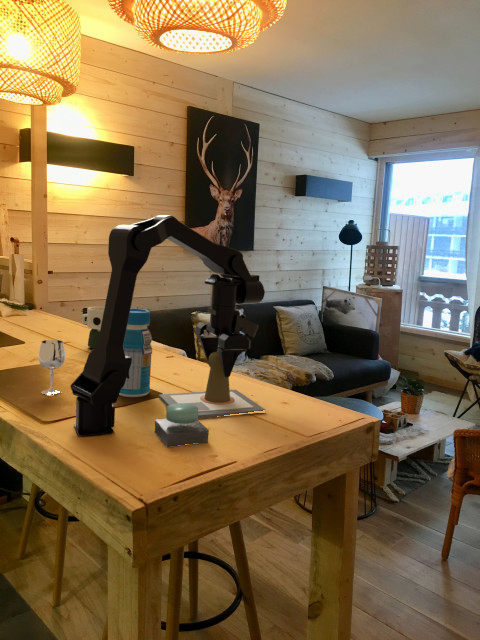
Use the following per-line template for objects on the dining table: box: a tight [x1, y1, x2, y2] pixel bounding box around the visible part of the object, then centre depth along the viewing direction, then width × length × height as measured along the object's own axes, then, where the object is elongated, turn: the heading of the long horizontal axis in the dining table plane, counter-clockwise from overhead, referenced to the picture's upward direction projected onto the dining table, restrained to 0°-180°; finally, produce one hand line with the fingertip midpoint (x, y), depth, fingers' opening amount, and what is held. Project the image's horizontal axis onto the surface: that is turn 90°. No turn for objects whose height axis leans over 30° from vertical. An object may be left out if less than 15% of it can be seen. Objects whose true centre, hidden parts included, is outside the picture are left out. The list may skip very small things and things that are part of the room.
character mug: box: [81, 306, 105, 349], centre depth 174 cm, size 11×7×13 cm, turn 124°
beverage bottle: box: [119, 308, 153, 398], centre depth 128 cm, size 8×8×20 cm
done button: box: [165, 403, 199, 424], centre depth 103 cm, size 6×6×2 cm
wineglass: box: [38, 339, 66, 396], centre depth 124 cm, size 6×6×12 cm
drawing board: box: [158, 389, 266, 420], centre depth 124 cm, size 20×16×1 cm
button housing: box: [154, 418, 210, 448], centre depth 103 cm, size 8×8×2 cm
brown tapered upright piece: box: [204, 351, 231, 403], centre depth 125 cm, size 6×6×11 cm
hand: (219, 371), depth 125 cm, fingers open, 9 cm apart
